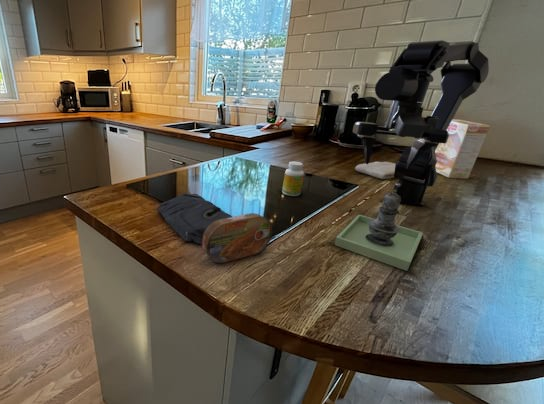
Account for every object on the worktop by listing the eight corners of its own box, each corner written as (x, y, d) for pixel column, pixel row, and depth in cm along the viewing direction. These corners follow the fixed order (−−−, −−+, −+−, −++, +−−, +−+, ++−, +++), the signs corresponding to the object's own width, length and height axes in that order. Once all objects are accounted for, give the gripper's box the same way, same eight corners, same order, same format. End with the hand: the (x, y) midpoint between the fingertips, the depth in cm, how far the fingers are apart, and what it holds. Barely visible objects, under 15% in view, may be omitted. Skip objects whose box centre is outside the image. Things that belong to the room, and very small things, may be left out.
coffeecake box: (423, 166, 124) (440, 118, 116) (442, 167, 123) (460, 119, 115) (447, 177, 110) (468, 124, 102) (469, 179, 109) (491, 124, 101)
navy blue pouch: (202, 199, 87) (203, 184, 85) (249, 233, 69) (251, 214, 67) (153, 208, 80) (152, 192, 78) (191, 248, 62) (191, 228, 60)
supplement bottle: (291, 197, 89) (296, 166, 85) (278, 191, 93) (282, 161, 90) (303, 194, 91) (309, 164, 88) (290, 189, 96) (295, 160, 92)
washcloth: (414, 175, 112) (417, 167, 111) (383, 181, 105) (385, 172, 104) (384, 167, 122) (386, 159, 121) (353, 171, 115) (355, 163, 114)
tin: (206, 267, 56) (208, 227, 53) (198, 258, 59) (200, 220, 55) (270, 251, 62) (276, 214, 58) (261, 243, 64) (266, 208, 61)
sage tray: (356, 221, 75) (358, 214, 74) (420, 240, 67) (423, 232, 66) (334, 245, 64) (336, 237, 64) (407, 271, 56) (410, 262, 55)
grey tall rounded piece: (376, 231, 69) (391, 183, 64) (401, 244, 64) (419, 192, 59) (358, 236, 67) (372, 186, 62) (382, 249, 62) (400, 196, 57)
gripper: (373, 99, 65) (353, 168, 70) (475, 106, 60) (445, 180, 66) (360, 98, 75) (344, 159, 80) (447, 104, 70) (423, 168, 76)
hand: (386, 166), depth 75 cm, fingers open, 9 cm apart
